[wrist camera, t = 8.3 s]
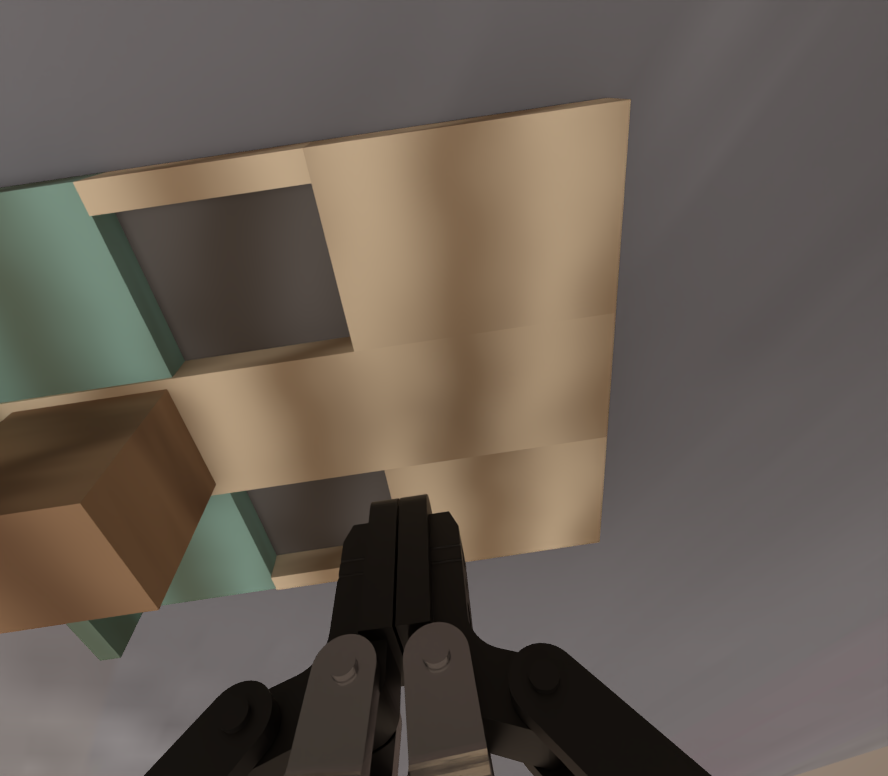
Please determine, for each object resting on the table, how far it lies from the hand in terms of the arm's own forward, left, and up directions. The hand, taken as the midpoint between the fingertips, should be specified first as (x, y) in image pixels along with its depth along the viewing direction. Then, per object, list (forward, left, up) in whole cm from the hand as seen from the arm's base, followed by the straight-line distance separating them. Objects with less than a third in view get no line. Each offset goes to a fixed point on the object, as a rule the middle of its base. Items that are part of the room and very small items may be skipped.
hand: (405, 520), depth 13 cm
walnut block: (+12, +1, -7) cm, 14 cm away
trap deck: (+4, +1, -9) cm, 10 cm away
